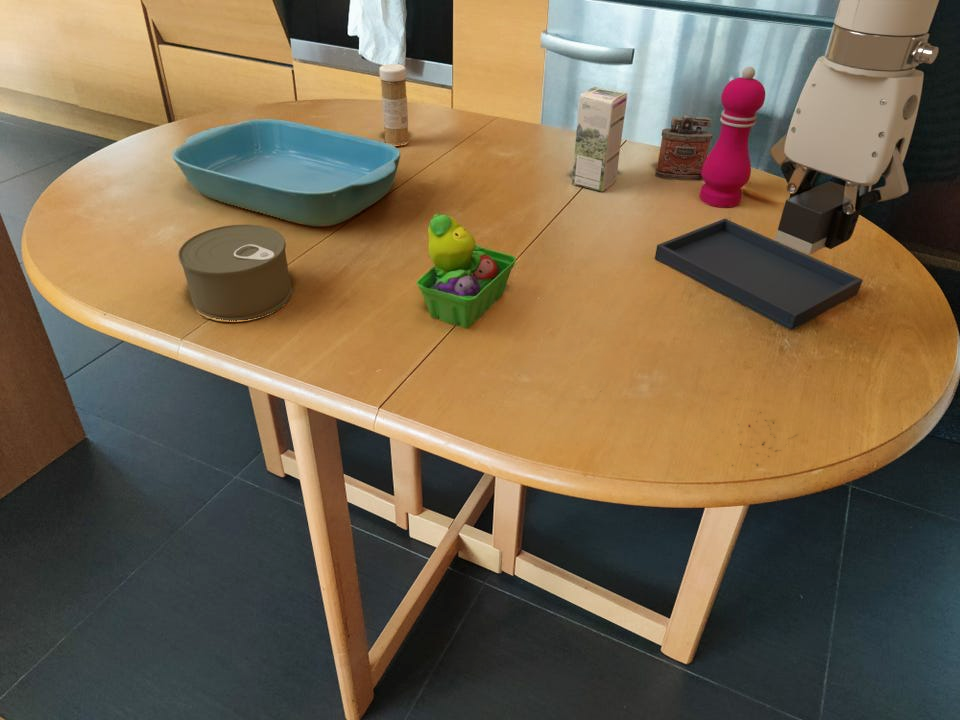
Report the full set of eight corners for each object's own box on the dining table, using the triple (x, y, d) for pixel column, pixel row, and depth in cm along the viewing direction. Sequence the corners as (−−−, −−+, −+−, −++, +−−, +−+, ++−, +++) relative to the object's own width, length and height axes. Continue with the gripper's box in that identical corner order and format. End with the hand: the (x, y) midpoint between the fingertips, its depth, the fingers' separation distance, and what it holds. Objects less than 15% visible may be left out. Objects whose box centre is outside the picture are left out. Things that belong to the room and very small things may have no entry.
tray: (857, 294, 90) (863, 279, 89) (791, 330, 83) (795, 315, 82) (721, 231, 104) (724, 218, 102) (654, 258, 97) (656, 244, 95)
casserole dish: (154, 193, 111) (141, 149, 107) (255, 149, 127) (248, 109, 123) (341, 251, 97) (336, 202, 93) (430, 193, 113) (428, 149, 108)
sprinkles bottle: (397, 137, 133) (393, 61, 125) (414, 143, 131) (411, 66, 123) (379, 143, 130) (373, 66, 122) (396, 149, 128) (391, 71, 120)
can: (234, 265, 94) (223, 217, 90) (312, 284, 90) (305, 235, 86) (169, 310, 85) (154, 259, 81) (253, 333, 81) (242, 281, 77)
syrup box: (617, 181, 118) (629, 91, 109) (601, 193, 114) (613, 100, 105) (586, 173, 120) (595, 84, 112) (569, 185, 116) (578, 94, 108)
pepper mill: (688, 191, 115) (714, 60, 103) (730, 189, 116) (761, 59, 104) (708, 210, 109) (738, 74, 97) (751, 207, 110) (786, 72, 98)
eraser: (852, 233, 75) (866, 193, 72) (809, 255, 71) (822, 213, 68) (817, 220, 78) (829, 180, 75) (774, 240, 74) (785, 199, 71)
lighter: (655, 178, 119) (665, 118, 113) (654, 170, 122) (664, 111, 116) (704, 181, 118) (717, 121, 112) (702, 173, 121) (714, 114, 115)
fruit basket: (472, 338, 81) (472, 249, 74) (406, 317, 84) (401, 230, 78) (517, 293, 89) (521, 209, 82) (455, 275, 92) (455, 193, 86)
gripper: (991, 62, 60) (911, 256, 71) (811, 26, 71) (765, 200, 81) (949, 77, 56) (872, 279, 67) (766, 37, 67) (724, 217, 78)
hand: (814, 234), depth 74 cm, fingers closed on eraser, 4 cm apart
